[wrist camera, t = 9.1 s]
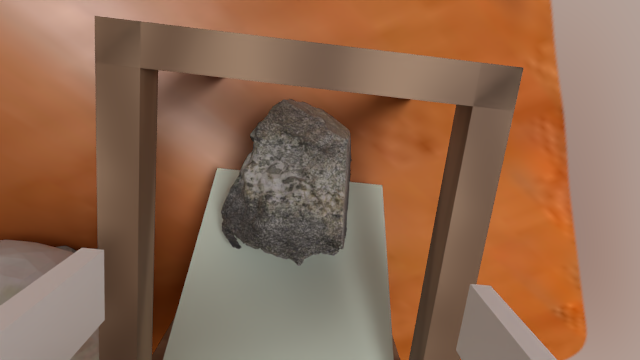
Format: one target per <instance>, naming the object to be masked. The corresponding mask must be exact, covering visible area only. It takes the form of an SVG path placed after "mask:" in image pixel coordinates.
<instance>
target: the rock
mask: <svg viewBox="0 0 640 360" xmlns="http://www.w3.org/2000/svg"><path fill="white" fill-rule="evenodd" d="M250 137H251V139H252V141H253V142H254V144H253V151H252V152H251V153H250V154H249V155H248V156H247V158H246V159H245V161H244V163H243V165H242V168H241V170H240V173H239V176H238V177H237V178H236V180H235V182H234V184H233V185H232V187H231V188H230V190H229V193H228V196H227V197H226V200H225V202H224V204H223V207H222V210H221V214H222V218H223V222H222V232H223V233H224V236H226V239H228V240H229V243H230V244H231V245H232V247H233V248H234V247H235V248H236V249H240V248H241V246H240V245H239V243H238V241H236V240H237V238H238V239H240V240H241V241H242V242H243V244H244V243H246V245H247V246H250V247H252V248H254V249H259V248H261V250H263V251H264V252H265V253H268V254H272V255H274V256H276V258H277V257H281V258H283V259H291V260H292V261H294V262H295V263H296V264H297V266H300V265H301V264H302V263H303V261H304V259H306V258H308V257H309V256H312V255H317V254H318V255H319V254H320V253H322V254H329V255H332V256H334V255H335V254H337V253H338V252H339V250H340V249H343V248H344V241H345V238H346V237H345V236H346V232H347V227H346V226H347V211H348V203H349V202H348V201H349V200H348V199H349V182H350V175H351V174H350V171H351V170H350V163H351V161H352V160H351V138H350V131H349V130H348V129H347V128H346V127H345V126H344V125H342V124H341V123H340V122H338V121H337V120H336V119H334V117H332V116H331V115H329V114H328V113H326V112H325V111H324V110H322V109H319V108H316V107H312V106H311V105H309V104H307V103H305V102H296V101H294V100H292V99H289V100H282V101H281V102H279V103H278V104H276V105H275V106H273V107H272V109H271V110H270V111H269V113H268V115H267V116H266V117H265V118H264V120H263V121H261V122H259V123H258V125H257V127H256V128H255V129H254V130H253V132H252V133H251V134H250ZM234 235H235V236H236V238H235V237H234ZM341 245H342V246H341ZM339 247H340V248H339ZM241 249H242V248H241Z"/></svg>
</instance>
